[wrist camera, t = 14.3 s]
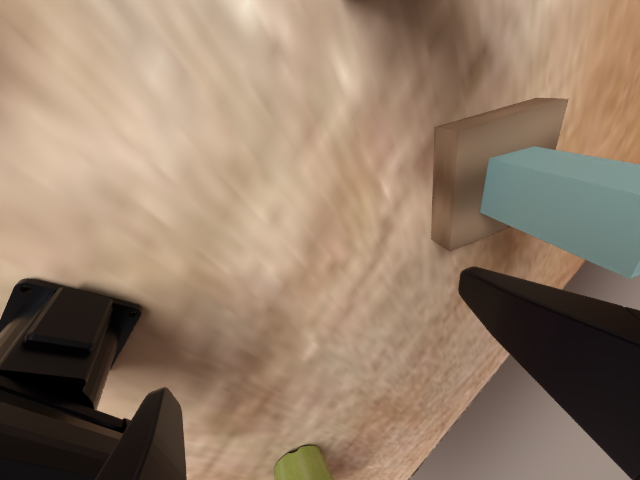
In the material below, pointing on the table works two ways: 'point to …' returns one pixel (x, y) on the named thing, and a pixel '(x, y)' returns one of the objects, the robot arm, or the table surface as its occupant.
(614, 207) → the teal block
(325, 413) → the table surface
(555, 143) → the walnut block
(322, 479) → the plant pot
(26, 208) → the table surface
